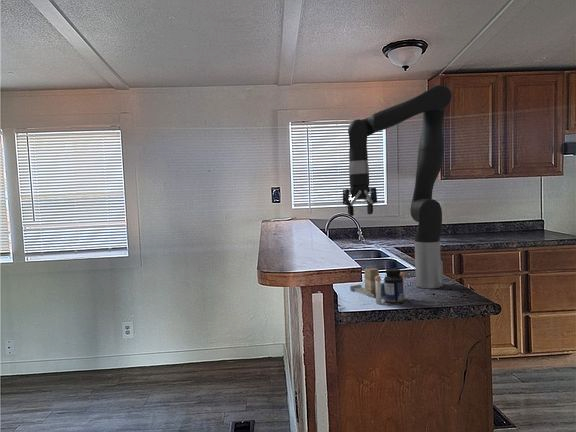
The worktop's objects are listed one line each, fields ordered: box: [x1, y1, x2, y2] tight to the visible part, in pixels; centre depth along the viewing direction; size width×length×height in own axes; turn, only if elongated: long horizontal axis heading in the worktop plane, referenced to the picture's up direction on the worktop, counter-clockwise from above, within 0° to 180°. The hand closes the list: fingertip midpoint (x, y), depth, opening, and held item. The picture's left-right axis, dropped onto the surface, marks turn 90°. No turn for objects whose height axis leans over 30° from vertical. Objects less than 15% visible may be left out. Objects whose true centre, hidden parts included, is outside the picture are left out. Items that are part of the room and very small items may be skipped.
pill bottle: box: [383, 268, 404, 305], centre depth 150 cm, size 6×6×11 cm
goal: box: [375, 271, 406, 305], centre depth 151 cm, size 12×2×9 cm, turn 115°
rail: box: [349, 284, 376, 299], centre depth 164 cm, size 4×14×2 cm, turn 25°
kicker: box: [363, 267, 385, 298], centre depth 157 cm, size 8×11×8 cm
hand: (360, 215), depth 174 cm, fingers open, 8 cm apart
